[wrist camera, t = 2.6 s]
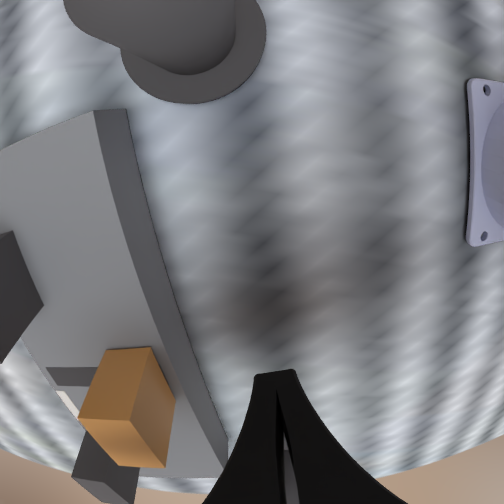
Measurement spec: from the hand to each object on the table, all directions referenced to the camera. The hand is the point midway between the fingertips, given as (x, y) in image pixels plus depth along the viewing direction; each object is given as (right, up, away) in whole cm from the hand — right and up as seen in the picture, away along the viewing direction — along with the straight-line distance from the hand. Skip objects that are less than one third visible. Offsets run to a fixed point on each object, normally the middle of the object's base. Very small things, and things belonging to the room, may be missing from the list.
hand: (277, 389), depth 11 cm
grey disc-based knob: (-3, +12, -1) cm, 13 cm away
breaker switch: (-5, 0, +1) cm, 6 cm away
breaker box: (-8, +1, +4) cm, 9 cm away
